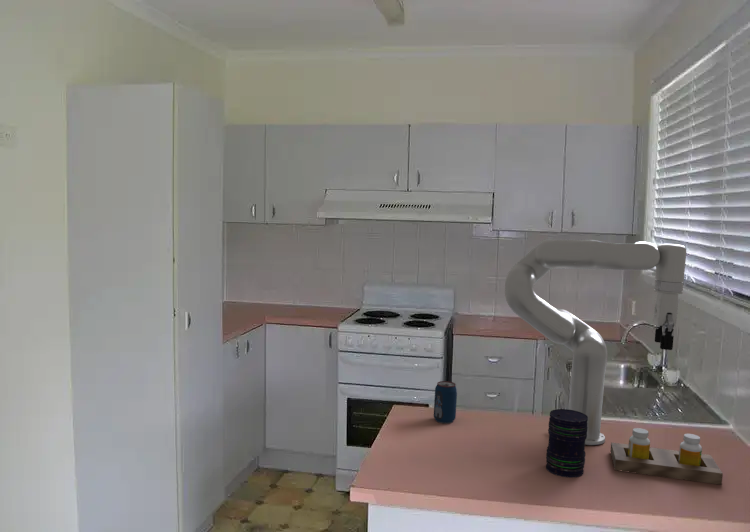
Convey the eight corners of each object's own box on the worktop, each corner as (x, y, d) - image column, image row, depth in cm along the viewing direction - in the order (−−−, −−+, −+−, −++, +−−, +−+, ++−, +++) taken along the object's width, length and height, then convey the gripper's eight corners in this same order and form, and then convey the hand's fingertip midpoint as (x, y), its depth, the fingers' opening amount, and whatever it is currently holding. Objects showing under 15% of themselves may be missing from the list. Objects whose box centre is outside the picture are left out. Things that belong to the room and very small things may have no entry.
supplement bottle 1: (622, 461, 184) (625, 427, 183) (638, 459, 186) (641, 426, 185) (636, 469, 179) (639, 434, 178) (652, 467, 181) (655, 433, 180)
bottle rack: (614, 470, 177) (615, 459, 177) (610, 452, 190) (611, 442, 190) (721, 484, 171) (722, 473, 171) (709, 465, 184) (710, 455, 183)
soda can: (456, 418, 214) (458, 381, 212) (454, 425, 207) (456, 387, 206) (434, 415, 215) (437, 379, 214) (431, 422, 208) (433, 385, 207)
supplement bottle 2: (702, 476, 176) (705, 440, 175) (680, 473, 177) (683, 438, 176) (696, 468, 181) (700, 433, 180) (675, 465, 182) (678, 431, 181)
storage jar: (573, 461, 182) (577, 408, 180) (591, 477, 172) (595, 421, 171) (539, 462, 180) (543, 409, 179) (554, 478, 171) (559, 421, 169)
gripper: (650, 282, 200) (645, 338, 202) (659, 290, 184) (653, 350, 185) (677, 284, 198) (671, 341, 200) (689, 292, 182) (683, 353, 184)
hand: (663, 345), depth 193 cm, fingers open, 9 cm apart
